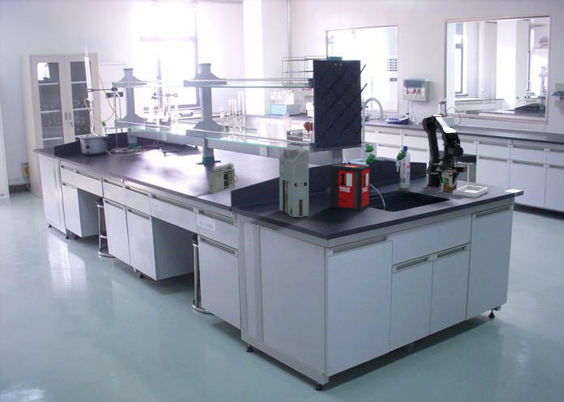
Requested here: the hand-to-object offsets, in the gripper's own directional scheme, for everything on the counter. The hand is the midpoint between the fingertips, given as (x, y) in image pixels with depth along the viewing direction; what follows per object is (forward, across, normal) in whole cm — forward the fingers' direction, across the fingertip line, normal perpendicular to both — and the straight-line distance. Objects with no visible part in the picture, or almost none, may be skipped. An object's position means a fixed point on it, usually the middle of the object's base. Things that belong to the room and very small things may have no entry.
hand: (447, 183), depth 339 cm
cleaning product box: (+4, -22, -64) cm, 68 cm away
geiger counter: (+4, -101, -67) cm, 121 cm away
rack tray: (+4, +13, 0) cm, 13 cm away
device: (+4, -35, -91) cm, 98 cm away
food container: (+4, 0, 0) cm, 4 cm away
